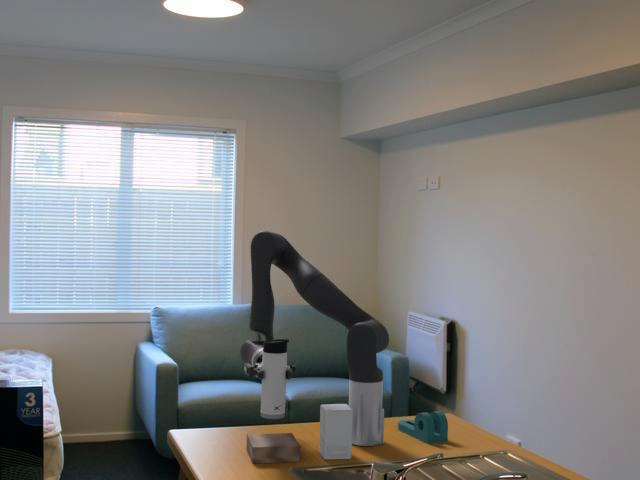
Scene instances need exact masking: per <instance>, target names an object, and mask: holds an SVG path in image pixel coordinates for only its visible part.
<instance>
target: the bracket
mask: <svg viewBox="0 0 640 480" xmlns="http://www.w3.org/2000/svg"><path fill="white" fill-rule="evenodd" d="M397 429H398V431H400V432H401V433H404V434H406V435H407V436H409V437H412V438H414V439H416V440H418V441H420V442H422V443H424V444H427V445H429V444H437V443H445V442H448V441H449V440H448V434H449V422H448V419H447V415H446V414H445V412H444V411H441V410H440V411H438V410H437V411H431V412H430V413H429V412H419V413H416V415H415V417H414V420H413V419H401V420H398V423H397Z"/></svg>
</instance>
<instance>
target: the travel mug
mask: <svg viewBox="0 0 640 480" xmlns="http://www.w3.org/2000/svg"><path fill="white" fill-rule="evenodd" d="M288 343H290V339H289V338H286V339H284V338H281V339H279V338H277V339H274V340H268V341H266V342H264V343H263V360H262V370H263V371H264V377H263V379H261V388H260V389H261V390H260V391H261V392H260V393H261V394H260V417H262V418H263V419H266V420H267V419H268V420H280V419H283V418H285V416H286V397H287V396H286V393H287V391H286V390H287V378H286V371H287V366H288V364H287V362H288Z"/></svg>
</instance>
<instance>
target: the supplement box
mask: <svg viewBox="0 0 640 480" xmlns="http://www.w3.org/2000/svg"><path fill="white" fill-rule="evenodd" d="M319 407H320V412H319V444H318V445H319V446H318V451H319V453H320V455H321V457H322V458H323V460H351V459H352V450H353V449H352V448H353V444H352V412H353V410H352V409H351V408H350V407H349V404H347V403H332V404H331V403H329V404H320V406H319Z"/></svg>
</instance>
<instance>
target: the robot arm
mask: <svg viewBox="0 0 640 480" xmlns="http://www.w3.org/2000/svg"><path fill="white" fill-rule="evenodd" d="M250 264H251V304H250V305H251V307H250V314H249V315H250V316H249V325H248V326H249V327H248V328H249V330H250V331H252V332H255V333H258V334H260V335H262V336H263V337H264V340H257V339H256V340H255V339H248V340H246V341H244V342H243V343H242V344H241V345H240V348H239V349H240V350H239V354H240V358H241V361H242V362H243V363H244V368H243V369H244V371H243V373H244V374H245V375H246V376H247V377H249V378H252V377H254V376H255V377H256V378H258V379H259V380H262V379H263V377H264V371H263V370H262V360H263V343H264V342H266V341H268V340H275V338H274V319H275V308H276V307H275V297H274V292H273V287H272V282H271V268H272V265H274V266H275V267H276V268H278V269H279V270H281V271H282V272H283V273H284V274H285V275H286V276H288V278H289V279H290V281H291V283H292V284H293V287H294V289H295V290H296V292H297V293H298V295H299V296H300V297H301V298H302V299H303V300H304V301H305V302H306V303H307V304H308V305H309V306H311V308H313V309H314V311H317V312H319V313H320V314H322V315H324V316H325V317H328V318H330V319H332V320H333V321H335V322H338V323H339V324H340V325H342V326H344V327H345V328H346V329H347V330H348V332H347V336H346V367H347V370H348V373H349V375H348V376H349V382H348V383H349V385H348V406H349V407H350V408H351V409H352V410H353V412H352V445H355V446H358V447H359V446H360V447H361V446H362V447H374V446H378V445H383V444H384V443H385V441H384V439H385V409H384V408H383V392H384V391H383V390H384V389H383V388H384V387H383V385H384V384H383V382H384V372H383V369H381V368H380V367H378V362H377V361H378V360H377V354H379V353H382V352H383V351H385V350H386V349H387V348H388V346H389V343H390V335H389V333H388V330H387V328H386V327H385V326H384V324H383V323H382V322H380V321H379V320H378V319H376V318H374V316H372V315H370V314H369V313H368V312H366V311H365V310H363V308H361V307H359V305H357V304H356V303H355V302H354V301H353V300H352V299H351V298H350V297H349V296H348V295H347V294H346V293H345V292H343V291H342V290H341V289H340V288H339V287H338V286H337V285H336V284H335V283H334V282H333V281H331V280H330V279H329V278H328V277H327V276H326V275H325V274H324V273H322V272H321V271H320V270H319V269H318V268H316V267H315V266H314V265H313V264H312V263H310V262H309V261H308V260H306V259H305V257H303V256H302V255H301V254H300V253H299V252H298V251H297V250H296V249H295V247H294V246H293V245H292V244H291V243H290V241H289V240H288V239H287V238H286V237H284V235H282V234H280V233H277V232H273V231H268V230H261V231H258V232H256V233H255V234H254V235H253V237H252V239H251V241H250ZM297 368H298V367H297V364H296V362H291V363H289V365H287V371H286V380H291V378H293V377H297Z"/></svg>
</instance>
